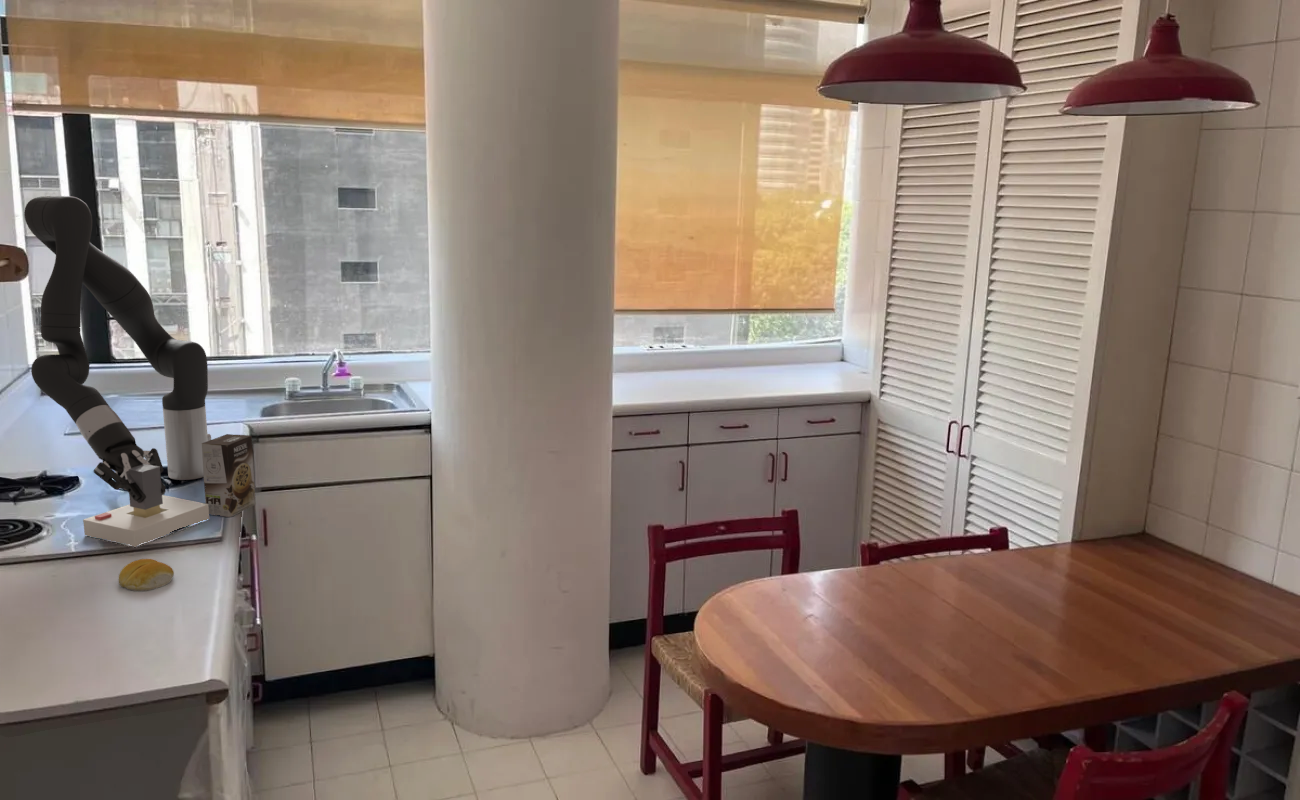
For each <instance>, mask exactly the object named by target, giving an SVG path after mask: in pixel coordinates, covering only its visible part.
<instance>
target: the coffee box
mask: <svg viewBox="0 0 1300 800" xmlns="http://www.w3.org/2000/svg"><path fill="white" fill-rule="evenodd" d="M202 457H203V473H204V477H203V487H204V501H205V502H204V503H205V504H208V507H209V514H211V516H217V515H220V517H227V518H231V517H234V516H235V515H238V514H240V513H242V512H244V511H246V510H248V509H250V508H252V507H254V506H256V490H255V489H256V488H255V487H256V485H255V472H254V453H253V438H252V435H247V434H232V433H231V434H228V433H226V434H224V435H221V436H219V437H216V438H215V437H214V438H211V440H210V441H207V442H204V443H202Z"/></svg>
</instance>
